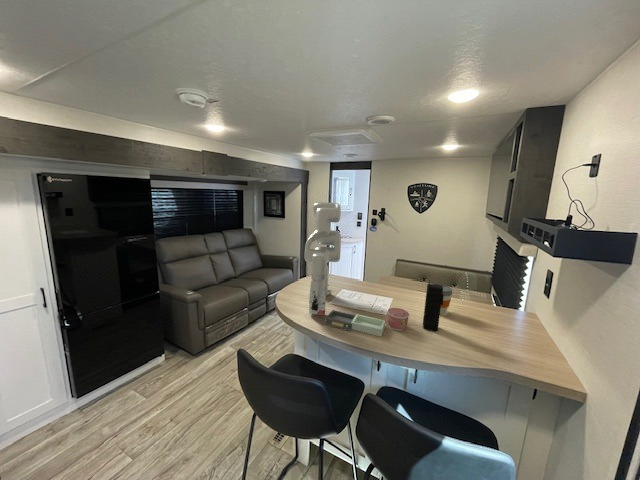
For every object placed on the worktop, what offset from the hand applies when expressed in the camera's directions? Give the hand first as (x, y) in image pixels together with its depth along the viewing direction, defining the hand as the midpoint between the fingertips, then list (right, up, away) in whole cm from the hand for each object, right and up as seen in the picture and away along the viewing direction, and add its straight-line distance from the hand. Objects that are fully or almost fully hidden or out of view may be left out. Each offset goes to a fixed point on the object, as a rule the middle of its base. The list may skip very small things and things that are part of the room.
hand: (317, 307), depth 138 cm
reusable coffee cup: (+70, -6, +10) cm, 71 cm away
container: (+40, -8, -9) cm, 42 cm away
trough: (+25, -7, -11) cm, 29 cm away
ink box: (0, -3, +1) cm, 3 cm away
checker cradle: (+13, -6, -6) cm, 15 cm away
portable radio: (+58, -8, -9) cm, 59 cm away
